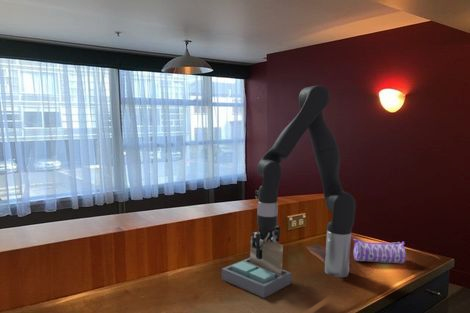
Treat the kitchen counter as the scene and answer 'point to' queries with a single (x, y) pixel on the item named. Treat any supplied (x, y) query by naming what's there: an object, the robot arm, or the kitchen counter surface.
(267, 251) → the birch sheet
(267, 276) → the offcut
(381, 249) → the pencil case
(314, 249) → the wooden tablet
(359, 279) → the kitchen counter surface
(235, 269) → the offcut
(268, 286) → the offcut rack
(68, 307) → the kitchen counter surface
